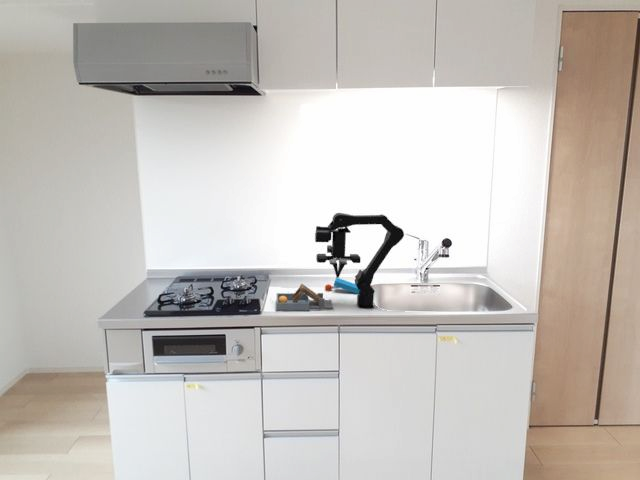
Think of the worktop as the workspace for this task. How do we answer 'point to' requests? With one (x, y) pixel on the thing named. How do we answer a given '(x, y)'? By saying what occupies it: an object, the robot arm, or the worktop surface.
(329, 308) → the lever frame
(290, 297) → the bin
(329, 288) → the lever
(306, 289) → the brown wooden angled piece
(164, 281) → the worktop surface
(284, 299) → the ball
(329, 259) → the robot arm
